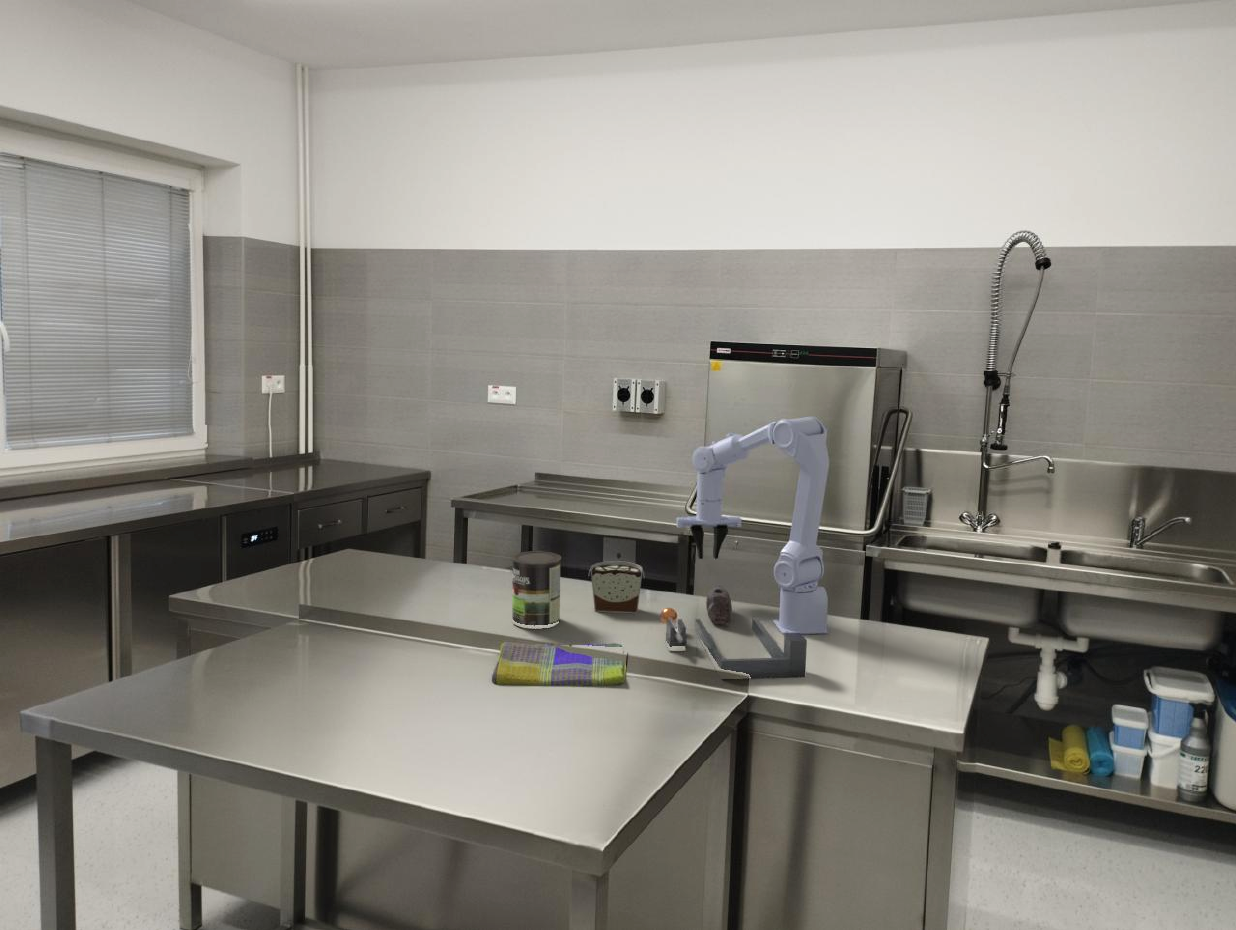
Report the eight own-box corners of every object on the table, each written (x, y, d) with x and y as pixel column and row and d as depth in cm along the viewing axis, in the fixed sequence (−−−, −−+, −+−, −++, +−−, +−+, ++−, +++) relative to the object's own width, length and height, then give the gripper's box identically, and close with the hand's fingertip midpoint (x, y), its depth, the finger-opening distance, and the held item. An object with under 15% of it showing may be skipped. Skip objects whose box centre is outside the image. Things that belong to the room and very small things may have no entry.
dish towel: (624, 691, 166) (624, 676, 166) (486, 687, 167) (486, 672, 167) (627, 654, 183) (628, 641, 183) (502, 651, 184) (502, 637, 184)
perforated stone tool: (704, 606, 212) (705, 576, 210) (728, 607, 211) (729, 577, 210) (706, 629, 197) (707, 597, 196) (732, 630, 197) (733, 597, 195)
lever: (675, 621, 197) (675, 605, 196) (689, 648, 181) (689, 631, 180) (659, 621, 196) (659, 605, 196) (671, 649, 180) (672, 632, 180)
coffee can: (528, 633, 193) (528, 566, 191) (502, 619, 201) (502, 555, 199) (570, 623, 199) (570, 558, 197) (543, 610, 207) (543, 548, 205)
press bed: (768, 629, 197) (769, 596, 196) (805, 677, 172) (806, 640, 170) (660, 631, 195) (661, 598, 194) (682, 680, 169) (682, 643, 168)
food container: (646, 604, 212) (646, 561, 211) (644, 613, 206) (644, 569, 204) (591, 602, 213) (591, 559, 212) (588, 611, 207) (588, 567, 206)
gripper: (737, 495, 217) (735, 552, 219) (674, 495, 216) (673, 553, 218) (744, 501, 210) (742, 560, 212) (679, 502, 209) (678, 561, 211)
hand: (707, 557), depth 215 cm, fingers open, 3 cm apart
